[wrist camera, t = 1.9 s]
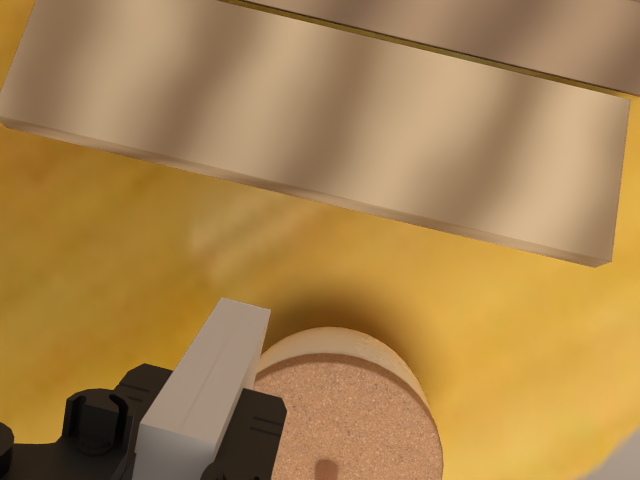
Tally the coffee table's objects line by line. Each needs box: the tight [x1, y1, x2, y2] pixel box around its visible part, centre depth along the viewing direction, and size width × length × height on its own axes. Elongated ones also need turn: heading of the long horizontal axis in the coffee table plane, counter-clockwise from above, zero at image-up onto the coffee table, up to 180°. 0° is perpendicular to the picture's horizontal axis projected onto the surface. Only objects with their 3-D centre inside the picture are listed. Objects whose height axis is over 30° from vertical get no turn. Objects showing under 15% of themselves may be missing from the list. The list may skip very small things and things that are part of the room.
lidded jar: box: [252, 327, 443, 480], centre depth 31 cm, size 11×11×9 cm
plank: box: [0, 0, 630, 268], centre depth 29 cm, size 28×8×2 cm
